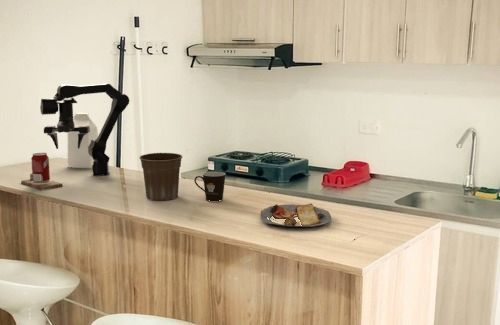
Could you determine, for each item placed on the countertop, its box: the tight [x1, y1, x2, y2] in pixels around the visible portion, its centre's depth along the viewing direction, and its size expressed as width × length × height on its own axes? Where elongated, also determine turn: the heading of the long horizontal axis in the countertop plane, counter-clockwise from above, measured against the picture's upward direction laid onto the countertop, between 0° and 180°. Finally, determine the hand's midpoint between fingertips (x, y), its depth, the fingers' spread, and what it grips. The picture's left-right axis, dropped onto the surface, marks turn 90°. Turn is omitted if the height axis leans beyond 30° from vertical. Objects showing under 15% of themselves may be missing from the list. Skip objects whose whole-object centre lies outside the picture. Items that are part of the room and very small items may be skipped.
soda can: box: [30, 152, 51, 183], centre depth 234 cm, size 7×7×12 cm
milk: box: [67, 112, 99, 169], centre depth 275 cm, size 12×12×26 cm
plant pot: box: [139, 152, 183, 202], centre depth 214 cm, size 16×16×16 cm
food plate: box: [260, 202, 333, 228], centre depth 187 cm, size 25×23×4 cm
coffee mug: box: [193, 171, 226, 202], centre depth 213 cm, size 12×9×10 cm
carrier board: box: [20, 173, 64, 191], centre depth 235 cm, size 18×9×4 cm, turn 48°
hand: (68, 148), depth 247 cm, fingers open, 9 cm apart
